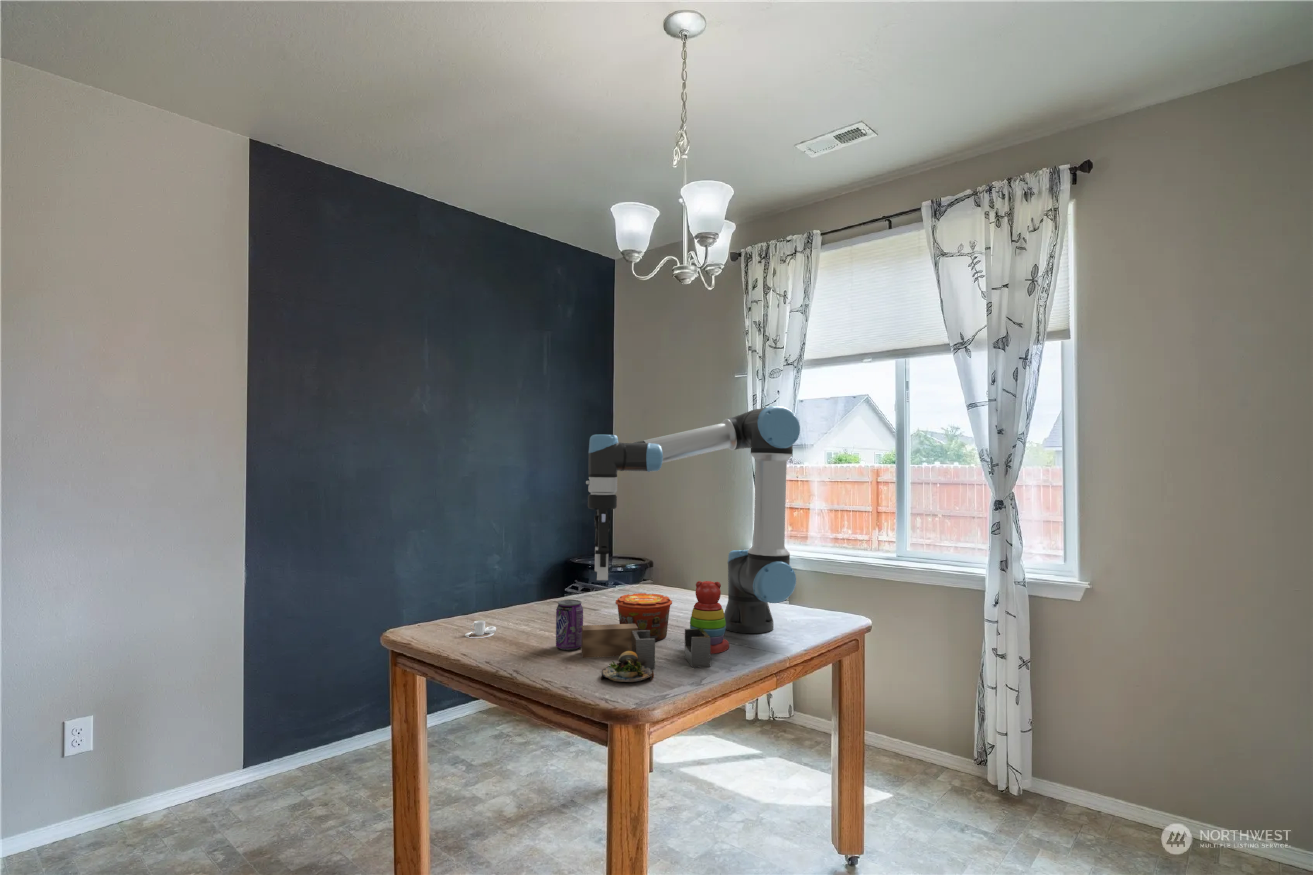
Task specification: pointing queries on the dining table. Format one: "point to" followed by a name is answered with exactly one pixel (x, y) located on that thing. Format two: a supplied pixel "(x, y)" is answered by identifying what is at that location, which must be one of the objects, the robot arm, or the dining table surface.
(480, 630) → the teacup and saucer
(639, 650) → the cup bracket
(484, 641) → the dining table surface
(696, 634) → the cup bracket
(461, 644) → the dining table surface
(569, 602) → the beverage can
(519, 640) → the dining table surface
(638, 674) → the burger
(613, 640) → the walnut rail
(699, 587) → the stacking bear
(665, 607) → the food container
